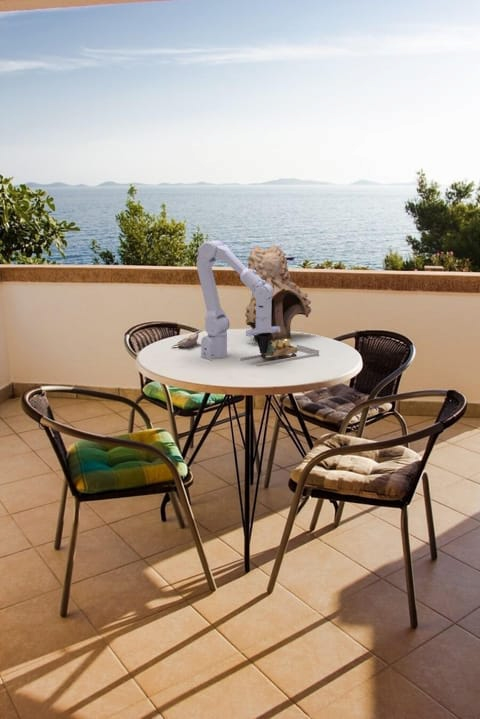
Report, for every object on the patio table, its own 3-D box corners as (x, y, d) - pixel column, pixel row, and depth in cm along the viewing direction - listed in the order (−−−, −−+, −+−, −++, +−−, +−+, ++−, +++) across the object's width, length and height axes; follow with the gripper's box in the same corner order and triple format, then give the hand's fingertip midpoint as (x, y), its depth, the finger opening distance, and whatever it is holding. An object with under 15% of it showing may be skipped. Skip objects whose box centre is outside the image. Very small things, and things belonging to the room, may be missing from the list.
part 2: (278, 352, 248) (278, 341, 247) (273, 350, 250) (273, 340, 249) (284, 351, 250) (284, 340, 249) (279, 349, 252) (279, 339, 251)
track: (258, 368, 238) (258, 360, 237) (239, 361, 248) (239, 353, 247) (318, 357, 254) (318, 349, 254) (298, 351, 264) (298, 344, 263)
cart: (273, 362, 244) (273, 346, 242) (259, 357, 251) (259, 342, 249) (298, 358, 251) (298, 342, 249) (283, 353, 257) (284, 338, 256)
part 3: (285, 350, 250) (285, 340, 249) (280, 349, 252) (280, 339, 251) (291, 349, 252) (291, 339, 251) (286, 348, 254) (286, 338, 253)
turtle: (193, 358, 266) (201, 335, 264) (170, 350, 265) (179, 327, 262) (194, 348, 281) (202, 326, 279) (172, 340, 280) (180, 319, 277)
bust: (287, 330, 304) (289, 242, 294) (315, 337, 291) (318, 244, 281) (229, 340, 282) (229, 245, 272) (256, 348, 269) (257, 248, 259)
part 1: (271, 353, 246) (271, 342, 245) (266, 351, 248) (266, 341, 247) (277, 352, 248) (277, 341, 247) (272, 350, 250) (272, 340, 249)
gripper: (254, 320, 235) (253, 357, 238) (285, 316, 243) (285, 352, 247) (242, 317, 241) (242, 354, 244) (273, 313, 249) (273, 349, 252)
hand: (263, 353), depth 246 cm, fingers closed
